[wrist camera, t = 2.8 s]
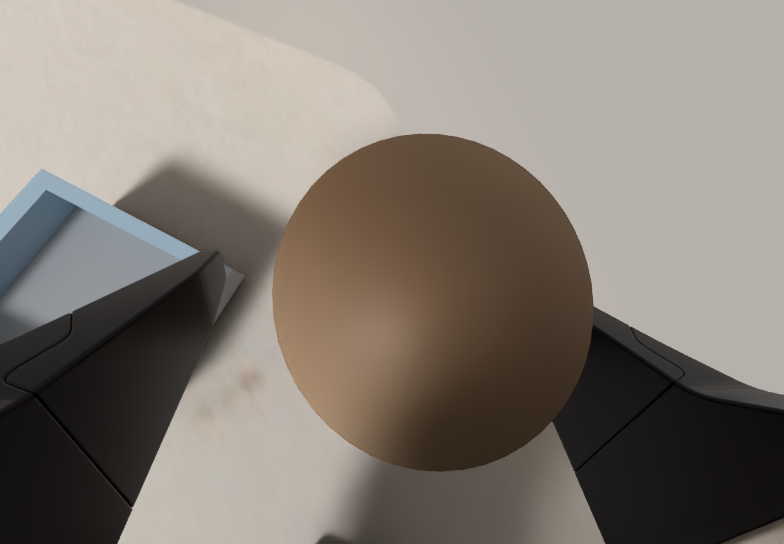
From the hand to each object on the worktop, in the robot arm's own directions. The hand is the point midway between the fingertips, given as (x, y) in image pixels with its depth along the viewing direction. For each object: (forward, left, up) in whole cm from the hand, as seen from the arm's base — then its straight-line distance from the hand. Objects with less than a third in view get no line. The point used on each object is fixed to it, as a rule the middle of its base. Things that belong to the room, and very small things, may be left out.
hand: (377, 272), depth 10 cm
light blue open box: (-6, +9, -7) cm, 13 cm away
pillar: (-1, -1, -7) cm, 7 cm away
